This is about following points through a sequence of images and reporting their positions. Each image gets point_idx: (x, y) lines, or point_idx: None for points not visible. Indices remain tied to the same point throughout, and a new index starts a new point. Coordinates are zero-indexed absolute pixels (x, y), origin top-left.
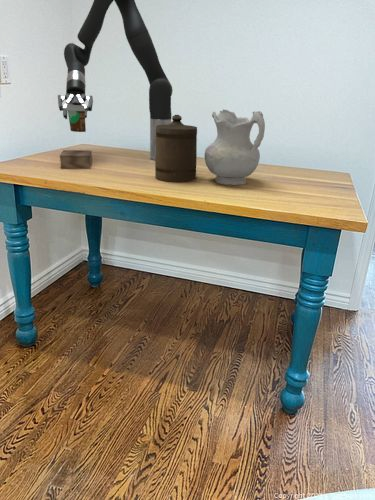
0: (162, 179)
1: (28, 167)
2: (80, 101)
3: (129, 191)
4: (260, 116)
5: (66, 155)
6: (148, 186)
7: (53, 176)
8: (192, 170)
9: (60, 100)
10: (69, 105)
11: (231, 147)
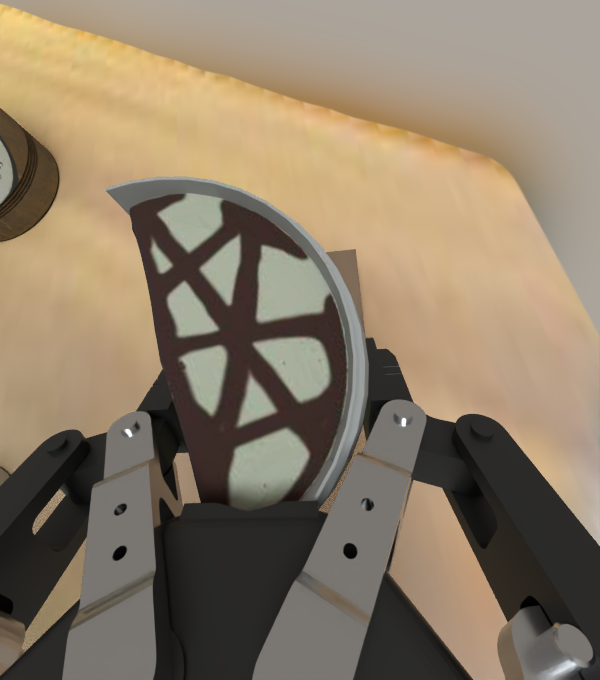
0: (44, 147)
1: (474, 282)
2: (143, 493)
3: (138, 50)
4: None
5: (327, 252)
6: (91, 96)
7: (347, 163)
8: None
9: (539, 538)
10: (296, 226)
11: None
